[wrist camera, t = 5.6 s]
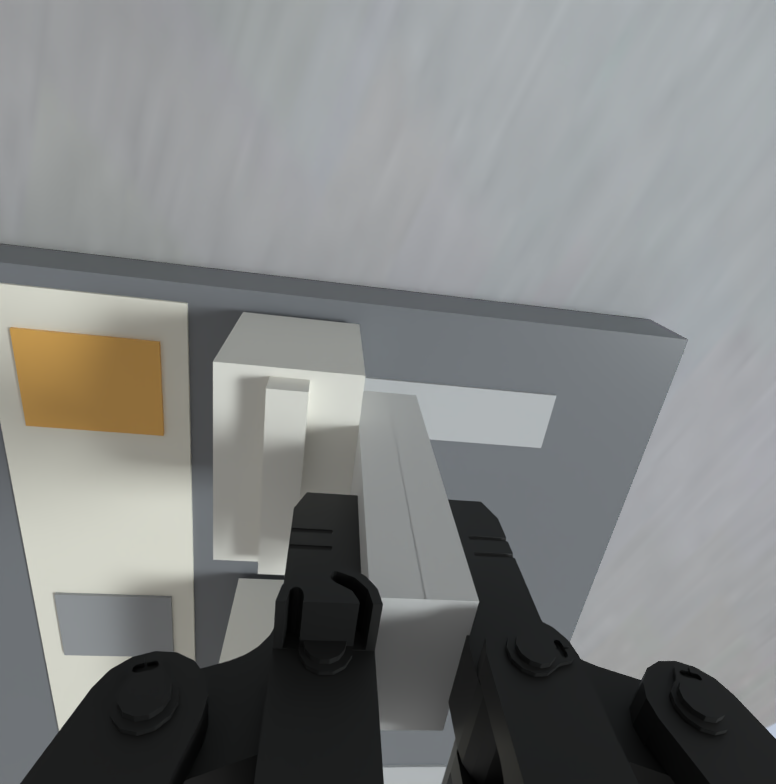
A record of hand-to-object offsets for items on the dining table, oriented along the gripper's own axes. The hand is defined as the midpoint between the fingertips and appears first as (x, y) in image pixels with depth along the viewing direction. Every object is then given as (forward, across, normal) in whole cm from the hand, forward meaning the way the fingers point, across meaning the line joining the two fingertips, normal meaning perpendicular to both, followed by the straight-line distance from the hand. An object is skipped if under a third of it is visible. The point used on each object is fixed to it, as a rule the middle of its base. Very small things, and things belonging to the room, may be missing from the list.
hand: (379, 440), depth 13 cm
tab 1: (+2, -2, 0) cm, 3 cm away
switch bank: (+4, -2, -9) cm, 10 cm away
